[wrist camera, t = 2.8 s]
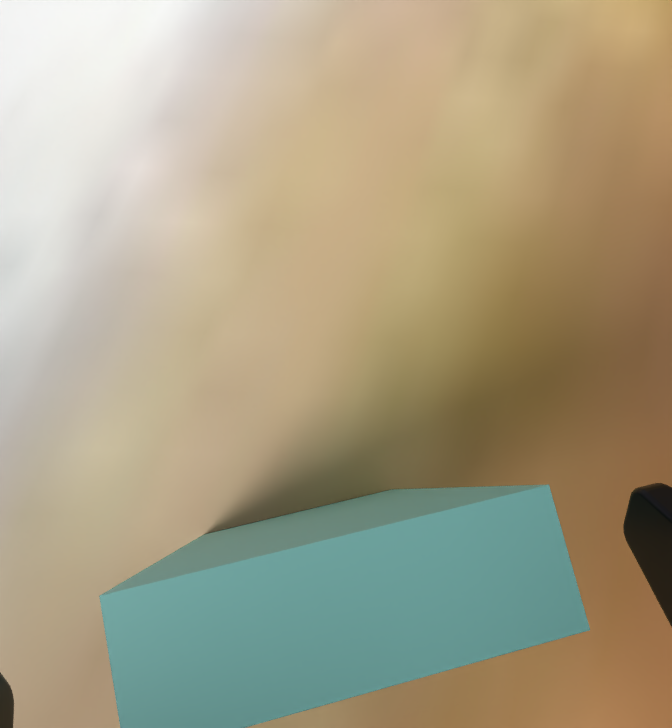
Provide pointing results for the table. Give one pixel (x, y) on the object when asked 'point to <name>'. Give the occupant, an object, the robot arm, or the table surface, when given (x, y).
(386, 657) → the teal domino
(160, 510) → the table surface
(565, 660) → the table surface
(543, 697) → the table surface
